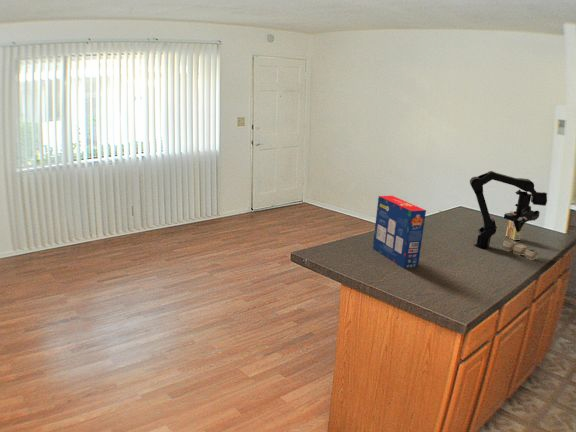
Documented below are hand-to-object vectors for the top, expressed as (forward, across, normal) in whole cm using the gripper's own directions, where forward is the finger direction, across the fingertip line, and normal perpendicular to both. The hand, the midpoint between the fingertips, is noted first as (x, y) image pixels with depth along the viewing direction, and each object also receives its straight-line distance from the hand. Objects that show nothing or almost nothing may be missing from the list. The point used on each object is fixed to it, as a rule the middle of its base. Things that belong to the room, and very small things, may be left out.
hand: (517, 231), depth 272 cm
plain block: (+11, -1, -5) cm, 12 cm away
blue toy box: (+12, -72, +8) cm, 73 cm away
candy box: (+11, +17, +17) cm, 26 cm away
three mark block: (+11, -1, -12) cm, 16 cm away
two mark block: (+11, -2, +2) cm, 11 cm away
